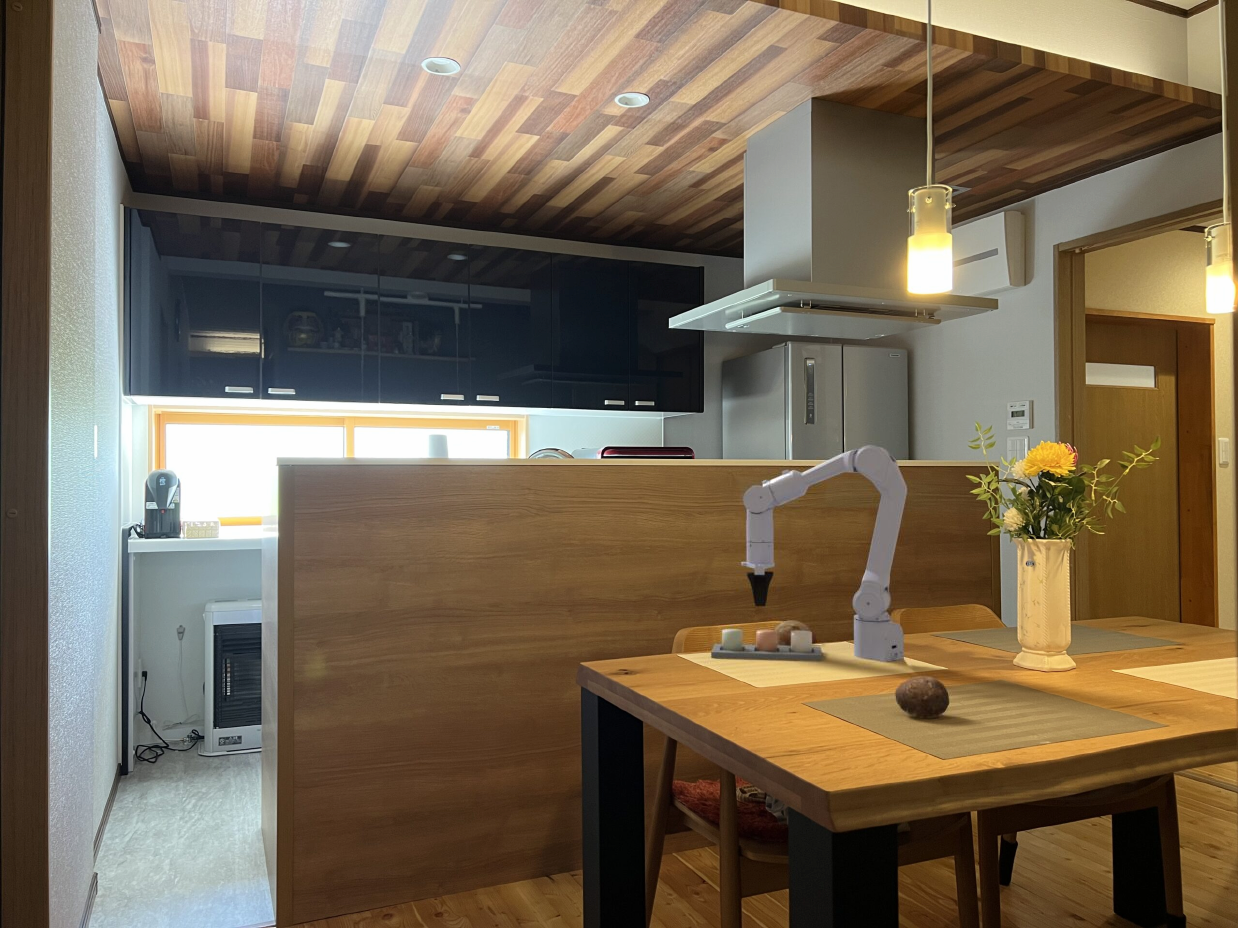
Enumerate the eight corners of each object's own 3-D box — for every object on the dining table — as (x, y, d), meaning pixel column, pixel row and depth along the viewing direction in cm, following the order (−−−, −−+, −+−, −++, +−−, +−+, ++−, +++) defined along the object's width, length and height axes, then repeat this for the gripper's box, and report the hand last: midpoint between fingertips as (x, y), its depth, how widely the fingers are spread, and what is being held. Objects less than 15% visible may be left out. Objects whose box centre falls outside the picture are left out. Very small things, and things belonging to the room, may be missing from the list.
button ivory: (811, 654, 193) (811, 630, 193) (812, 657, 189) (812, 633, 189) (790, 653, 194) (790, 630, 194) (791, 657, 190) (791, 633, 190)
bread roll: (769, 661, 212) (756, 630, 211) (802, 639, 216) (790, 608, 215) (795, 669, 203) (781, 637, 202) (829, 645, 207) (816, 614, 206)
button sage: (743, 652, 195) (742, 629, 195) (742, 655, 191) (742, 632, 191) (722, 651, 196) (722, 628, 196) (721, 655, 192) (721, 631, 192)
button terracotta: (777, 653, 194) (777, 629, 194) (777, 656, 190) (776, 633, 190) (756, 652, 195) (756, 629, 195) (756, 656, 191) (756, 632, 191)
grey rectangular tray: (820, 658, 195) (820, 646, 196) (822, 667, 186) (822, 655, 186) (714, 655, 199) (714, 643, 199) (711, 664, 189) (711, 652, 189)
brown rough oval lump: (910, 684, 155) (914, 658, 151) (955, 710, 150) (960, 683, 146) (884, 714, 150) (887, 688, 147) (929, 741, 145) (934, 714, 142)
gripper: (742, 539, 209) (742, 601, 208) (739, 543, 194) (740, 609, 194) (774, 540, 207) (774, 601, 207) (774, 544, 193) (774, 610, 193)
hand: (760, 605), depth 201 cm, fingers closed
